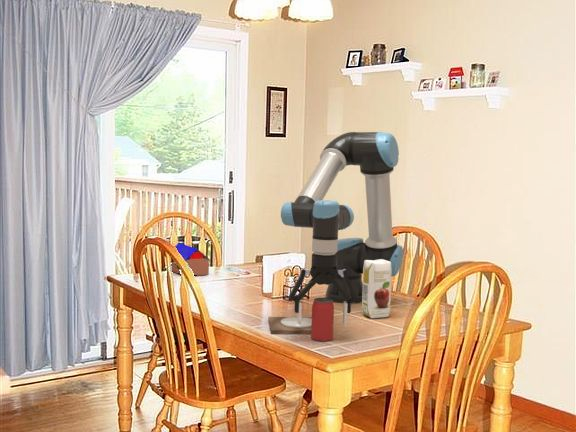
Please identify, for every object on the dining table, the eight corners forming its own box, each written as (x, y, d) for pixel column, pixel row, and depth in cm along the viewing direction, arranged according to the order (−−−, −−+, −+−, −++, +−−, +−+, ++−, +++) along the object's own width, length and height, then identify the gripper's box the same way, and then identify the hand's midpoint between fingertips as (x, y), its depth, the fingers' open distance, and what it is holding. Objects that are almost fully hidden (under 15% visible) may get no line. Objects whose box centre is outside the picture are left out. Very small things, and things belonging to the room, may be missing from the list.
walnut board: (323, 320, 226) (323, 317, 225) (329, 334, 210) (329, 330, 210) (268, 320, 224) (268, 316, 224) (270, 334, 208) (271, 330, 208)
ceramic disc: (313, 319, 223) (313, 317, 223) (317, 328, 212) (317, 326, 212) (279, 318, 222) (279, 317, 222) (281, 328, 211) (282, 326, 211)
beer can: (309, 335, 207) (310, 297, 206) (331, 335, 208) (332, 297, 207) (312, 342, 201) (313, 302, 200) (334, 342, 202) (335, 302, 200)
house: (184, 276, 294) (184, 249, 292) (166, 269, 310) (166, 243, 309) (209, 274, 300) (210, 248, 299) (190, 267, 317) (190, 242, 316)
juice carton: (359, 313, 236) (361, 259, 234) (380, 312, 239) (382, 258, 237) (370, 319, 229) (372, 263, 227) (392, 317, 232) (394, 262, 230)
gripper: (364, 251, 206) (361, 320, 208) (281, 250, 204) (279, 320, 206) (368, 255, 199) (365, 327, 201) (283, 254, 197) (281, 326, 199)
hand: (322, 323), depth 204 cm, fingers open, 13 cm apart
